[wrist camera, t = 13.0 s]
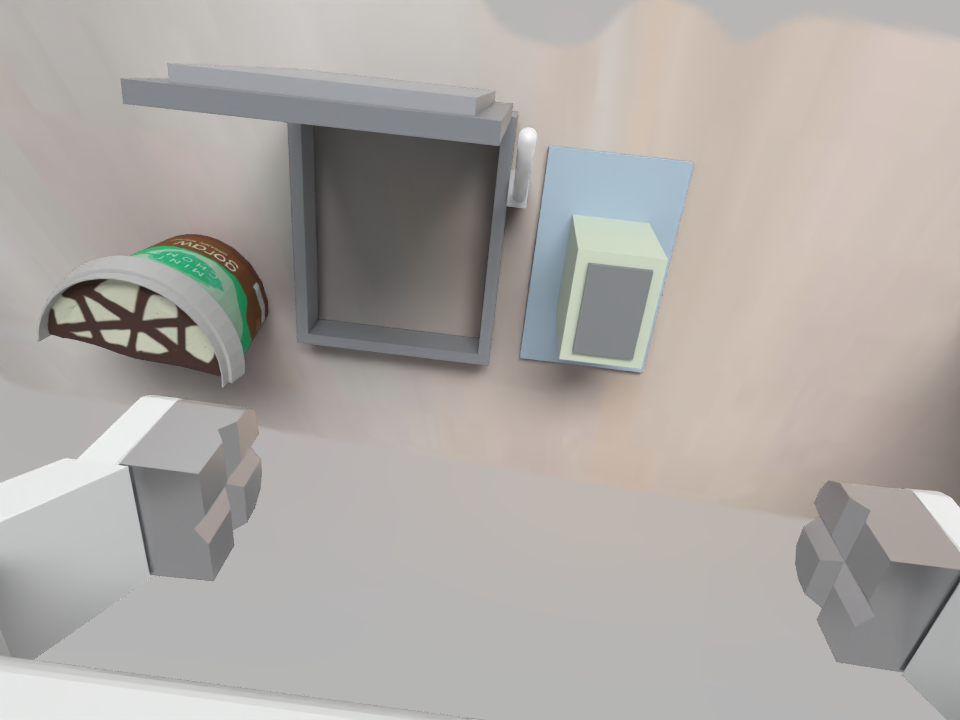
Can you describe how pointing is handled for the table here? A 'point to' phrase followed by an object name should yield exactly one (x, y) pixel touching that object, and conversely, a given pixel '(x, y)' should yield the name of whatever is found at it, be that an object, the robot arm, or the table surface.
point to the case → (386, 339)
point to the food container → (164, 305)
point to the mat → (597, 193)
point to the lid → (328, 101)
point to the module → (609, 291)
